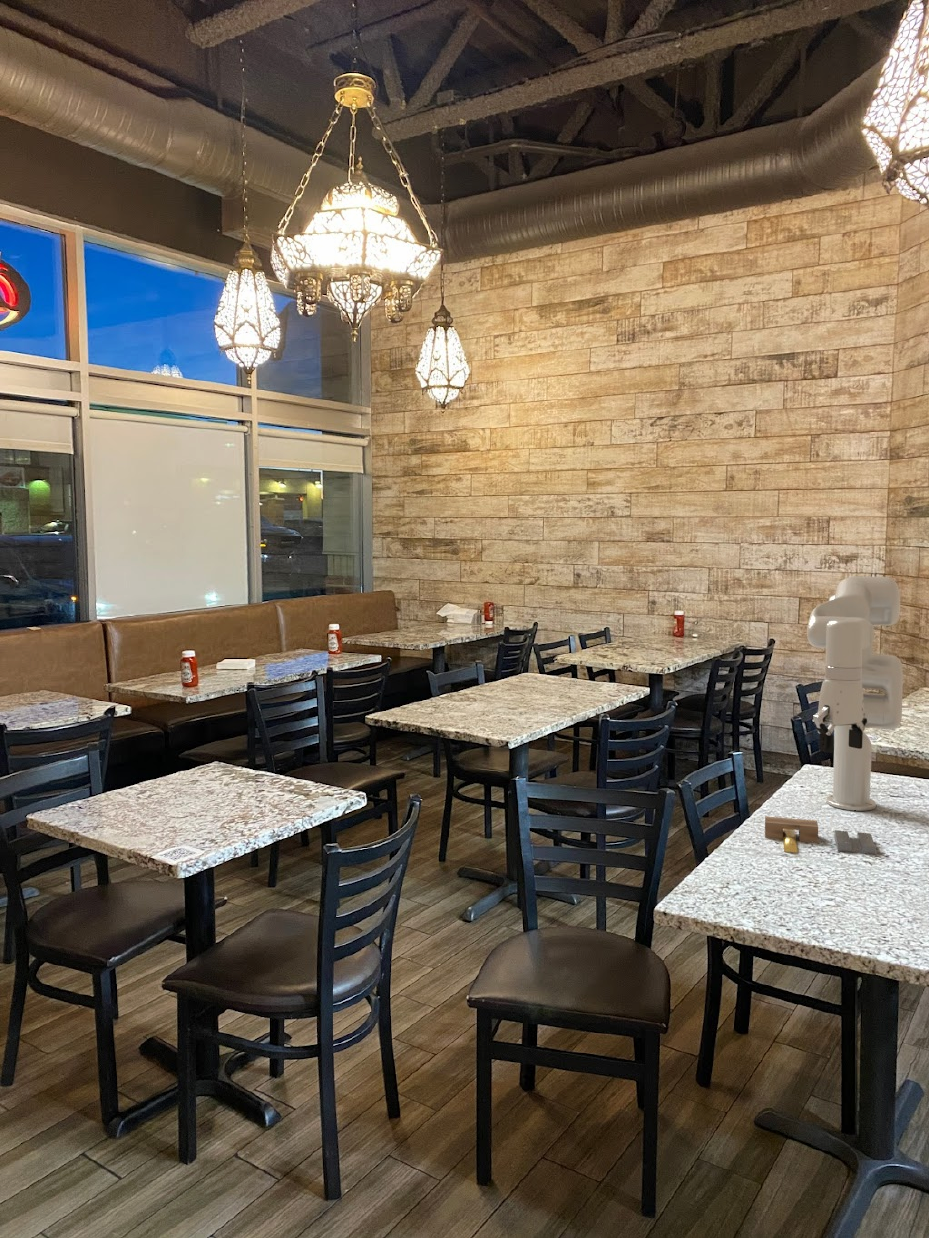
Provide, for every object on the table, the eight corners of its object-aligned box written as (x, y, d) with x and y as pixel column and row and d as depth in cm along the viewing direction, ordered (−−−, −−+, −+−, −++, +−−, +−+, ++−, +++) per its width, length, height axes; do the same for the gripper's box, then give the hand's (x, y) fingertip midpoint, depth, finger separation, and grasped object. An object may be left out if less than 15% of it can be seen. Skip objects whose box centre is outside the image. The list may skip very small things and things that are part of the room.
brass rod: (784, 840, 217) (780, 828, 217) (796, 837, 216) (793, 826, 216) (786, 859, 204) (782, 847, 204) (799, 857, 203) (795, 844, 203)
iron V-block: (834, 842, 213) (834, 830, 213) (870, 845, 211) (870, 833, 211) (837, 856, 204) (838, 843, 204) (875, 859, 201) (875, 847, 201)
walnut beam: (764, 835, 219) (765, 816, 218) (816, 840, 215) (817, 820, 214) (764, 842, 214) (765, 822, 213) (817, 847, 210) (818, 826, 210)
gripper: (854, 670, 204) (852, 743, 205) (802, 674, 196) (800, 750, 197) (883, 674, 198) (880, 749, 199) (830, 678, 190) (828, 756, 191)
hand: (840, 749), depth 198 cm, fingers open, 9 cm apart
